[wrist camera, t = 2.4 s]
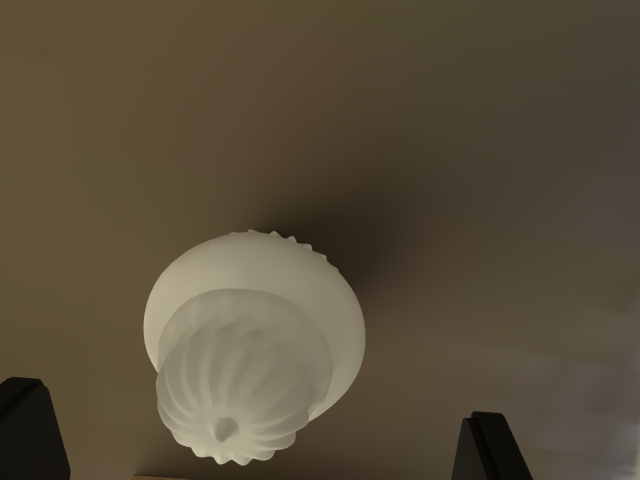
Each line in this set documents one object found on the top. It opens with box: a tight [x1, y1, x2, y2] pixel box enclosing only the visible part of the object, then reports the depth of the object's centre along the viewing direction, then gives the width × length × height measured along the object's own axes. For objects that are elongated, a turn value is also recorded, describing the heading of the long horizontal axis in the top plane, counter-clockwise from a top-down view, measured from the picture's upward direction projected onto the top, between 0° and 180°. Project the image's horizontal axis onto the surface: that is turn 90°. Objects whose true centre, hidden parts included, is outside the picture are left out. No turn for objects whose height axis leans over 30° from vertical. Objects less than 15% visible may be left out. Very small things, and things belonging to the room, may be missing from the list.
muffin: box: [144, 229, 365, 466], centre depth 11 cm, size 6×6×7 cm
